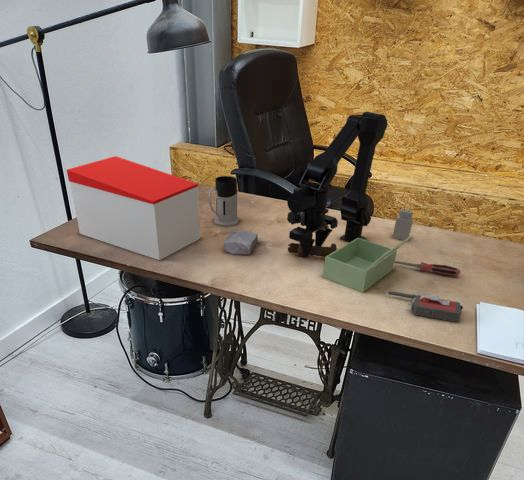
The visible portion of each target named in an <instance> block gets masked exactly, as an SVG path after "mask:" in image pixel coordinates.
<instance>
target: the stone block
mask: <svg viewBox="0 0 524 480" xmlns="http://www.w3.org/2000/svg"><path fill="white" fill-rule="evenodd" d="M258 239H259V234H258V233H255V232H252V231H248V230H237V231H232V232H230V234H228V235H227V237H226V238H225V240H224V241H223V243H222V245H223V250H224V251H225V253H229V254H232V255H243V256H250V255H251V253H252V251H253V250H254V248H255V246H256V244H257V243H258Z"/></svg>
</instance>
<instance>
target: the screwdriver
mask: <svg viewBox="0 0 524 480" xmlns="http://www.w3.org/2000/svg"><path fill="white" fill-rule="evenodd" d="M394 264H398V265H403V266H410V267H413V268H418V269H419V271H427V272H430V273H434V274H438V275H442V276H450V277H451V276H452V277H453V276H454V277H457V276H459V275H460V274H461V270H460V269H459V268H457V267H454V266H450V265H447V264H436V263H426V262H423V261H421V262H420V263H412V262H405V261H400V260H395V262H394Z"/></svg>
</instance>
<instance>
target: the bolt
mask: <svg viewBox="0 0 524 480" xmlns="http://www.w3.org/2000/svg"><path fill="white" fill-rule="evenodd" d="M336 250H338V246H337V244H336V243H331V244H330V246H321V247H319V246H315V245H313V246H312V248H311V250H310V253H309V255H308V256H313V257H322V258H325V257H326V256H328V255H329V254H331V253H333V252H334V251H336ZM287 252H288V253H291V254H297V255H298V257H299V258H305V257H304V255H303V251H302V247H301V244H300V242H298V243H296V242H290V243H289V244H288V247H287Z"/></svg>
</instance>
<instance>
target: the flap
mask: <svg viewBox="0 0 524 480" xmlns="http://www.w3.org/2000/svg"><path fill="white" fill-rule="evenodd" d="M414 236H415V235H414V234H410V236H409V237H408V238H407V239H405V240H401V242H399V243H398V244H396V245H395V246H394V247H391V248H392V249H391V250H389V251H388V252H386V253H385V254H383V255H382V256H381V257H380V258H379V259H378V260H376V261H375V262H374V263H373V264H372V265H371V266H369V267H368V268H367V269H370V268H371V267H373V266H374V265H375V264H377V263H378V262H380V261H381V260H383V259H384V258H386V257H387V256H388V255H390V254H391V253H393V252H394V251H396V250H397V251H398V250H399V249H400V248H401V247H402V246H403V245H405V243H407V242H408V241H409V240H411V239H412V238H413V237H414Z"/></svg>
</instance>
